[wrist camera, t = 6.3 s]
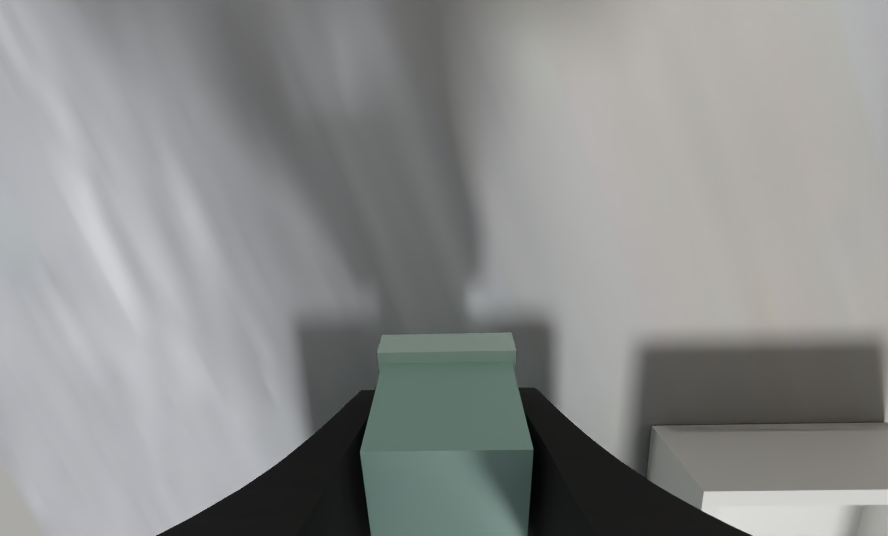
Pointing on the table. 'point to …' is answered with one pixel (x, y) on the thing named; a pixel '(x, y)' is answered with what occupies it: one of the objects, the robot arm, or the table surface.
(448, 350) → the lid
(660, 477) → the tub
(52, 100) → the table surface
